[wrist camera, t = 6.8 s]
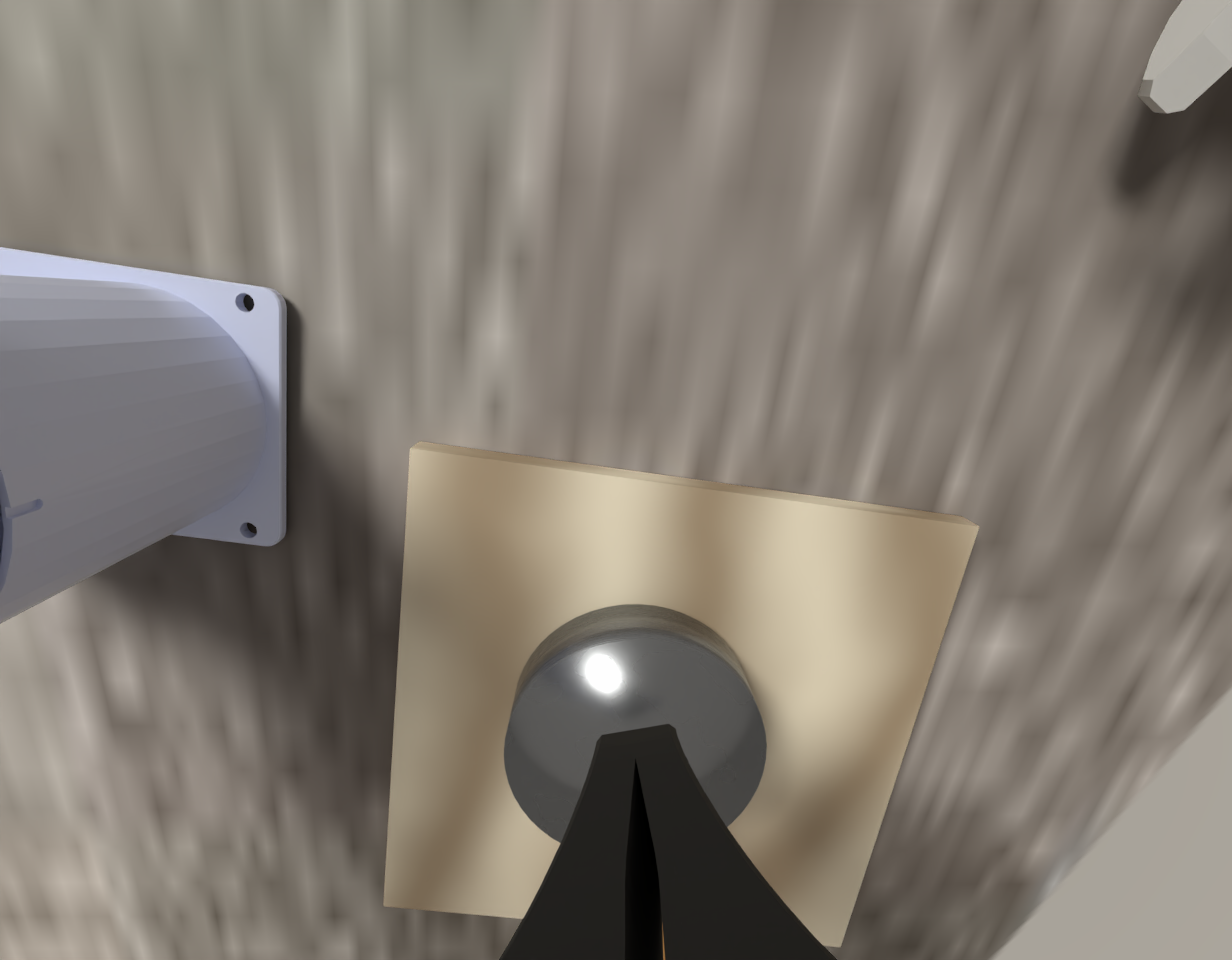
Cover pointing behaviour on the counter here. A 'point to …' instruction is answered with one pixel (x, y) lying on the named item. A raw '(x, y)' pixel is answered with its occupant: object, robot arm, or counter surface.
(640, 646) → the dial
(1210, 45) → the wrench
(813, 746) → the panel
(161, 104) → the counter surface
